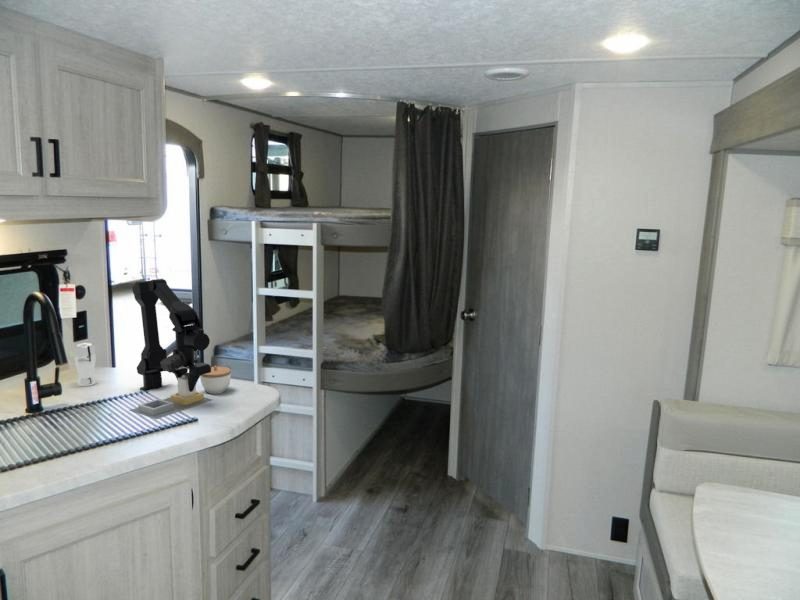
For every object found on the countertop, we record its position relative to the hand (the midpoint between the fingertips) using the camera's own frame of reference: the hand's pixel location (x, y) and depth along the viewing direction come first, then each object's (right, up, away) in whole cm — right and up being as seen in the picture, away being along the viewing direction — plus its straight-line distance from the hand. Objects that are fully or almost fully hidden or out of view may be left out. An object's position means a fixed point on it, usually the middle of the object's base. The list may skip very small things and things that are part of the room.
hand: (187, 390), depth 193 cm
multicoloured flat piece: (-3, -5, -4) cm, 7 cm away
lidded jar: (+6, -3, +13) cm, 15 cm away
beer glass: (-45, -1, +19) cm, 49 cm away
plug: (0, -3, 0) cm, 2 cm away
